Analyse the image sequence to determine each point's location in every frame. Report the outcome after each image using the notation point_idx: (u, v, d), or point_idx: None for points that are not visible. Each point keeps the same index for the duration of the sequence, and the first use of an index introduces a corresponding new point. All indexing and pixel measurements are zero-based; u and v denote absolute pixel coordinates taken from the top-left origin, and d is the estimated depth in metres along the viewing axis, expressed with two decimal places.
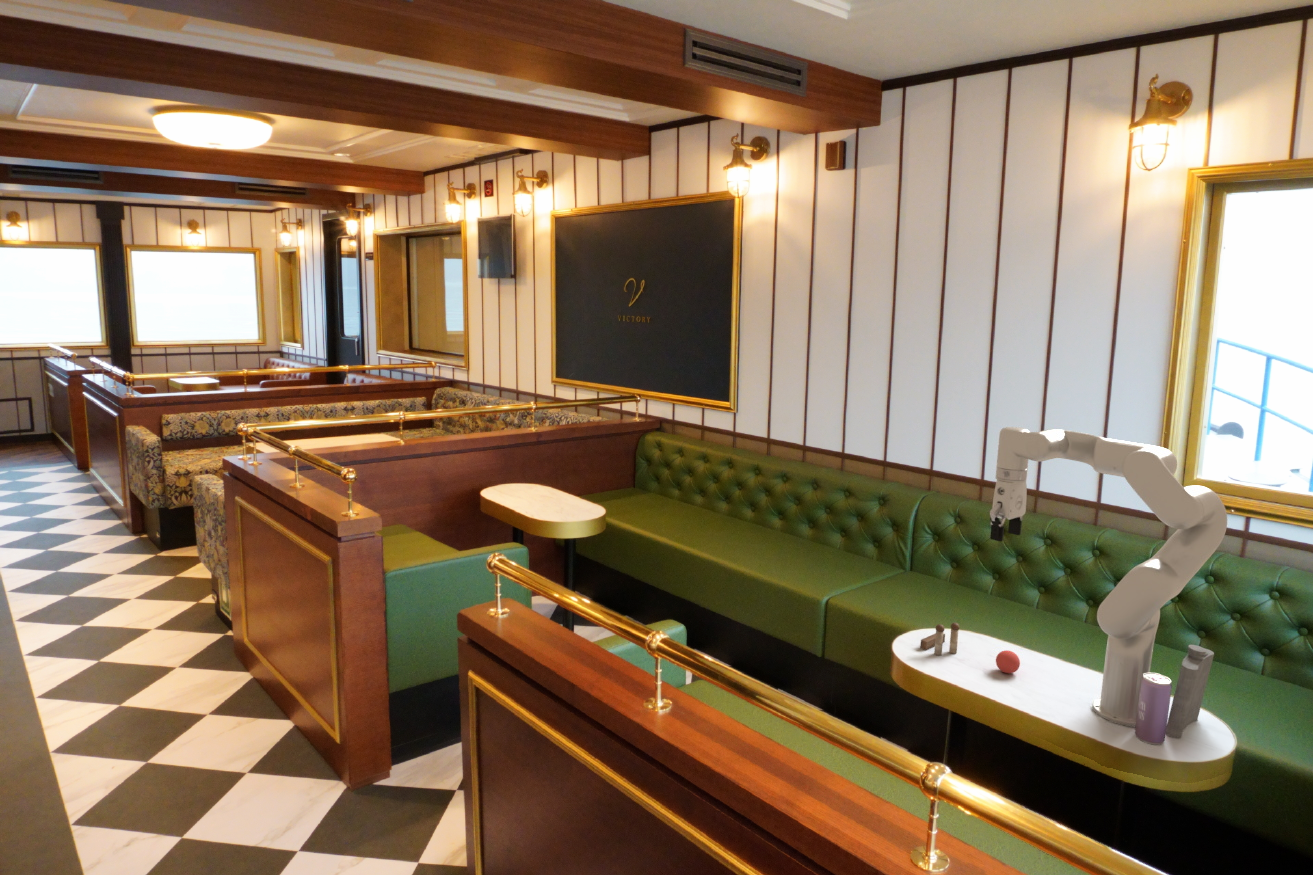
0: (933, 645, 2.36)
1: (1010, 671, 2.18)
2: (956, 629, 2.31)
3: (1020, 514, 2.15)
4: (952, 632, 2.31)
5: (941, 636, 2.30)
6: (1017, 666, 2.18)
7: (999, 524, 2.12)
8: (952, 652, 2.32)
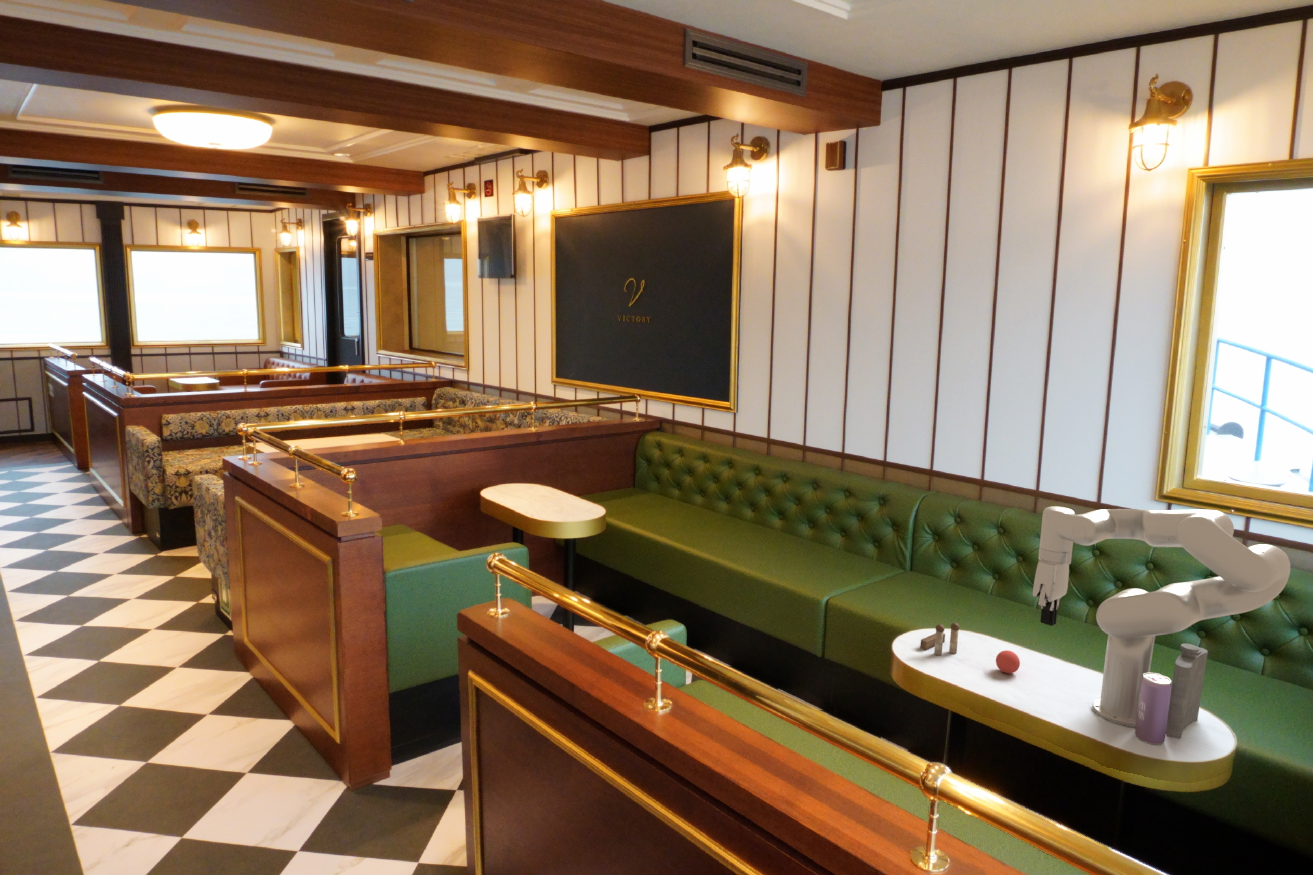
0: (933, 645, 2.36)
1: (1010, 671, 2.18)
2: (956, 629, 2.31)
3: None
4: (952, 632, 2.31)
5: (941, 636, 2.30)
6: (1017, 666, 2.18)
7: None
8: (952, 652, 2.32)
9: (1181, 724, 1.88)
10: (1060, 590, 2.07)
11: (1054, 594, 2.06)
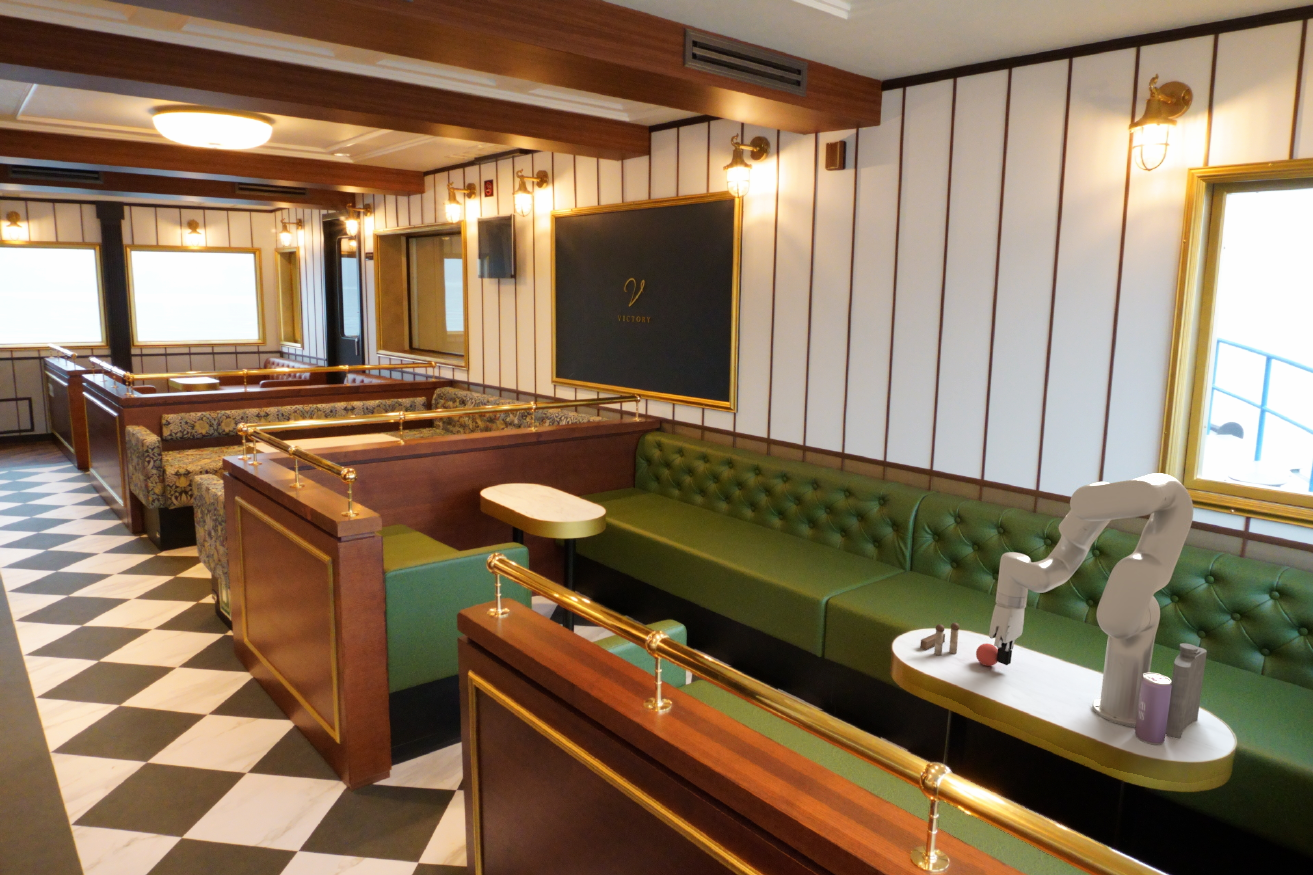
0: (933, 645, 2.36)
1: (990, 651, 2.22)
2: (956, 629, 2.31)
3: None
4: (952, 632, 2.31)
5: (941, 636, 2.30)
6: (987, 645, 2.24)
7: None
8: (952, 652, 2.32)
9: (1181, 724, 1.88)
10: (1015, 632, 2.18)
11: (1009, 636, 2.16)
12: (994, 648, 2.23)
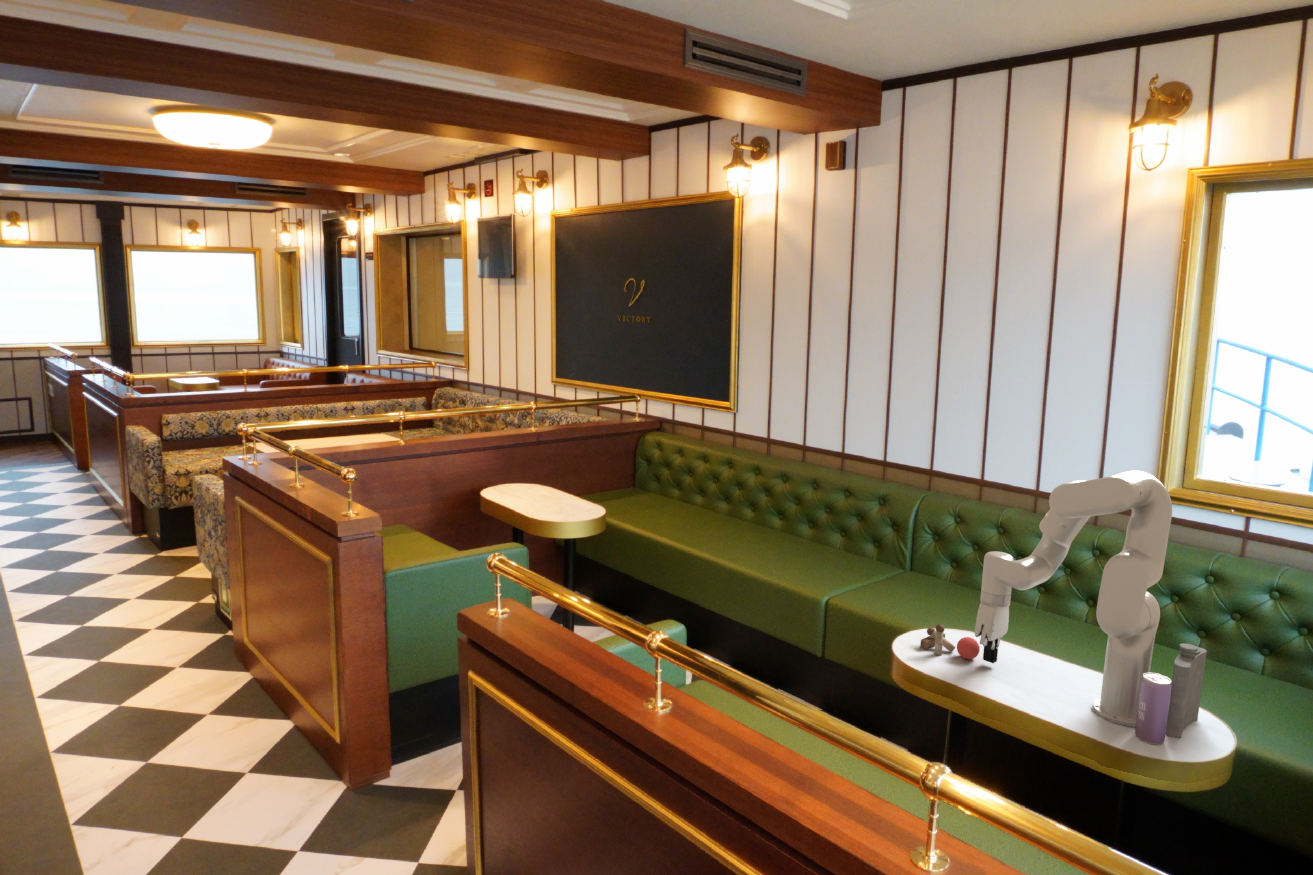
0: (933, 645, 2.36)
1: (957, 643, 2.29)
2: (931, 631, 2.36)
3: None
4: (933, 636, 2.36)
5: (941, 636, 2.30)
6: None
7: None
8: (950, 649, 2.32)
9: (1181, 724, 1.88)
10: (1000, 630, 2.21)
11: (994, 634, 2.19)
12: None
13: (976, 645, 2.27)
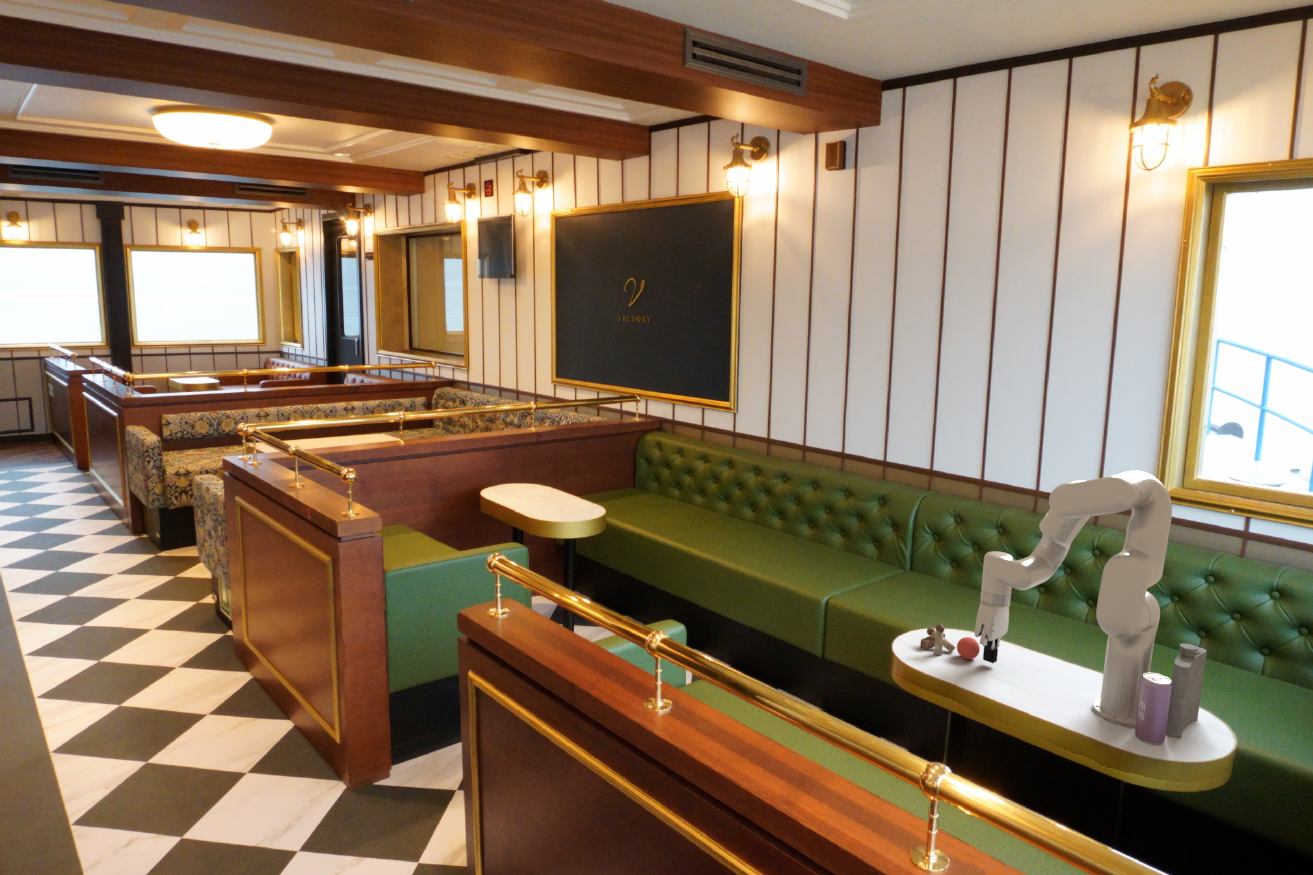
0: (933, 645, 2.36)
1: None
2: (931, 631, 2.36)
3: None
4: (933, 636, 2.36)
5: (941, 636, 2.30)
6: None
7: None
8: (950, 649, 2.32)
9: (1181, 724, 1.88)
10: (1000, 630, 2.21)
11: (994, 634, 2.19)
12: None
13: (976, 645, 2.27)
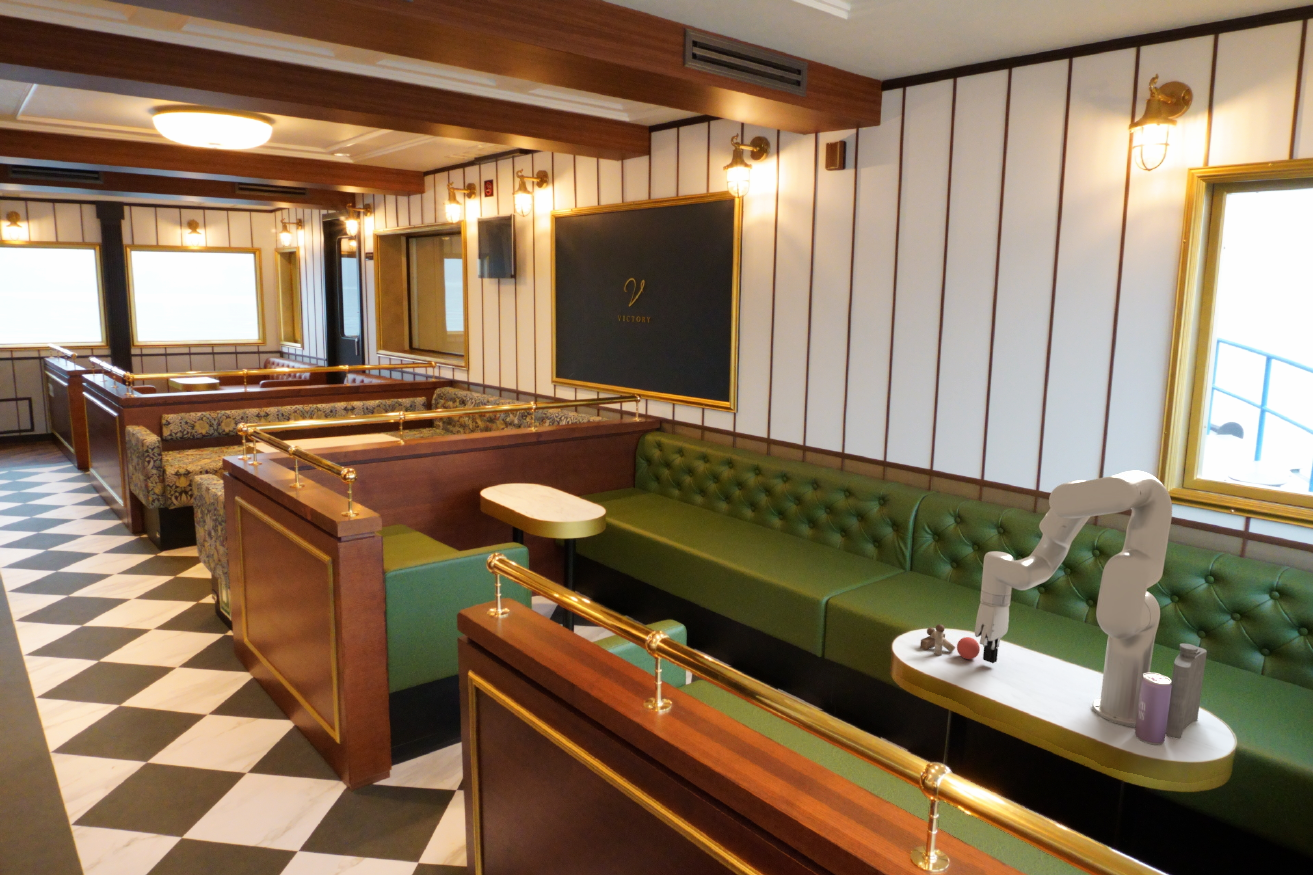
0: (933, 645, 2.36)
1: None
2: (931, 631, 2.36)
3: None
4: (933, 636, 2.36)
5: (941, 636, 2.30)
6: None
7: None
8: (950, 649, 2.32)
9: (1181, 724, 1.88)
10: (1000, 630, 2.21)
11: (994, 634, 2.19)
12: None
13: (976, 645, 2.27)
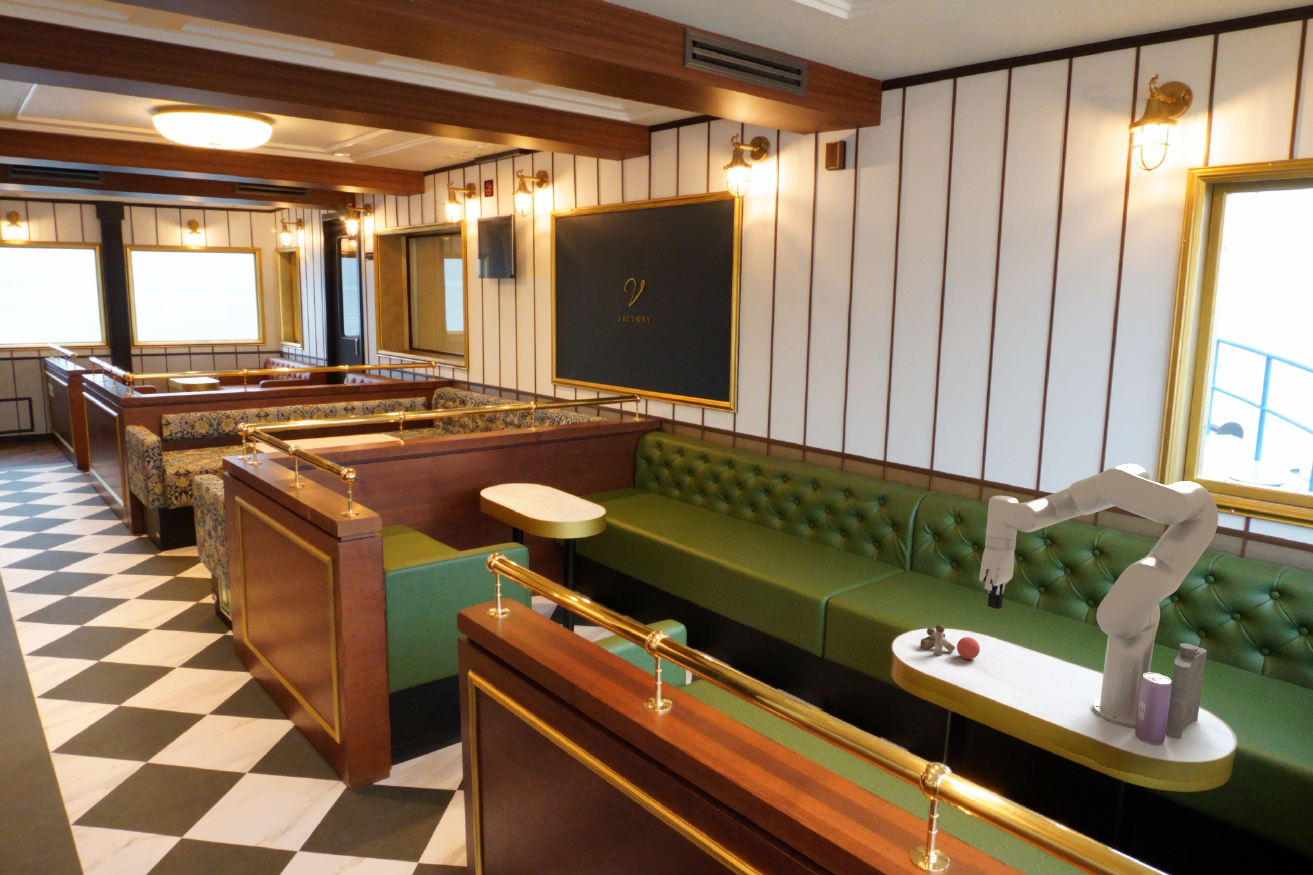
0: (933, 645, 2.36)
1: None
2: (931, 631, 2.36)
3: None
4: (933, 636, 2.36)
5: (941, 636, 2.30)
6: None
7: None
8: (950, 649, 2.32)
9: (1181, 724, 1.88)
10: (1005, 575, 2.18)
11: (999, 579, 2.17)
12: None
13: (976, 645, 2.27)
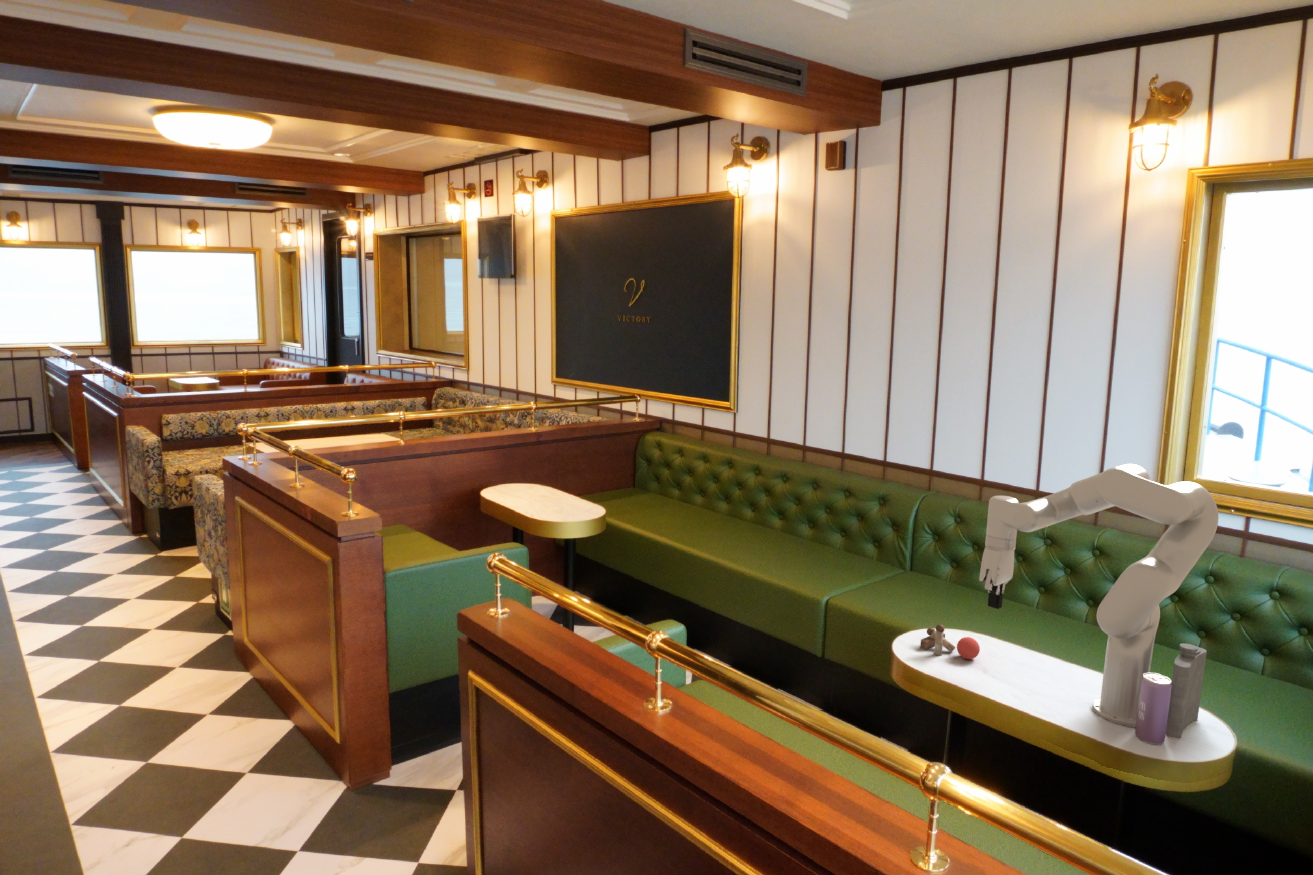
0: (933, 645, 2.36)
1: None
2: (931, 631, 2.36)
3: None
4: (933, 636, 2.36)
5: (941, 636, 2.30)
6: None
7: None
8: (950, 649, 2.32)
9: (1181, 724, 1.88)
10: (1005, 575, 2.18)
11: (999, 579, 2.17)
12: None
13: (976, 645, 2.27)
